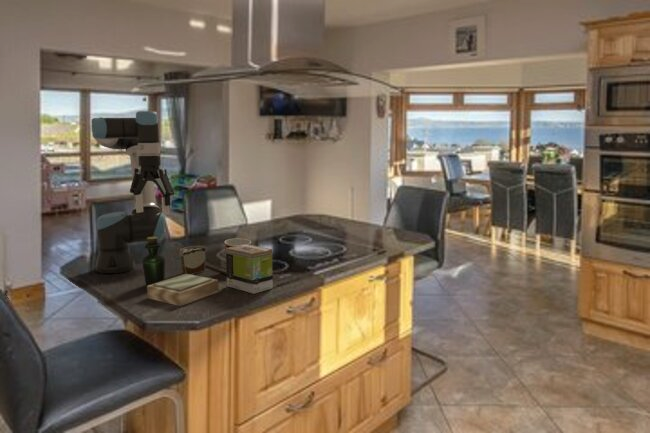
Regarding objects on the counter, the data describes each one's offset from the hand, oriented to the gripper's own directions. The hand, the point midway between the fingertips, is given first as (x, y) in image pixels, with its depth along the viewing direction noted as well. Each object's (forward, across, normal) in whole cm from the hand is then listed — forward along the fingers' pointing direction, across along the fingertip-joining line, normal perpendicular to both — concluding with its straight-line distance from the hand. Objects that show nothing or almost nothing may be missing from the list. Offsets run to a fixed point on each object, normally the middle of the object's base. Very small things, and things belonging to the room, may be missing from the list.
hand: (152, 213), depth 200 cm
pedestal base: (+27, +18, -4) cm, 33 cm away
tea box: (+27, +32, +14) cm, 45 cm away
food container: (+27, -2, +19) cm, 33 cm away
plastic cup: (+27, +13, +32) cm, 44 cm away
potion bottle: (+27, 0, -1) cm, 27 cm away
